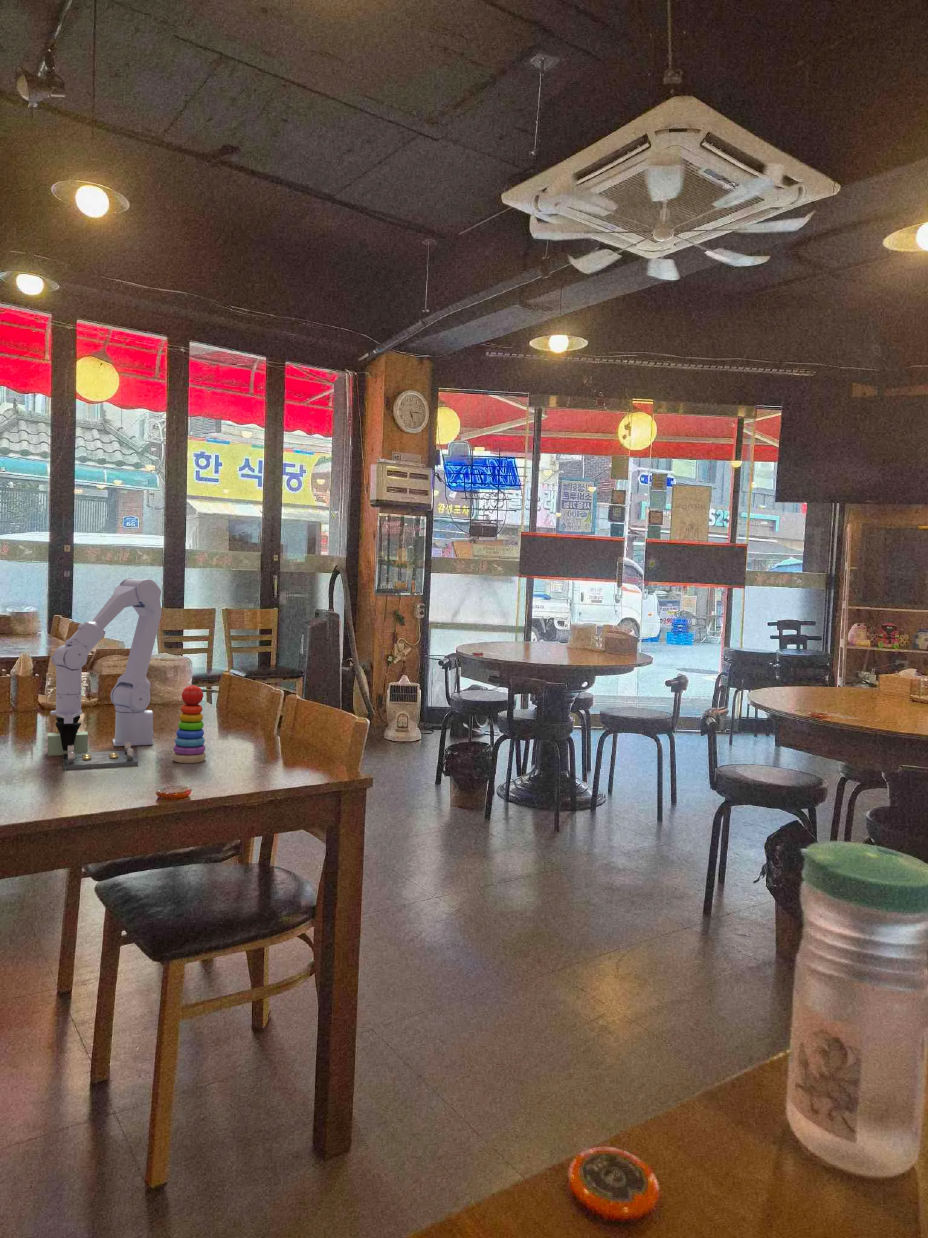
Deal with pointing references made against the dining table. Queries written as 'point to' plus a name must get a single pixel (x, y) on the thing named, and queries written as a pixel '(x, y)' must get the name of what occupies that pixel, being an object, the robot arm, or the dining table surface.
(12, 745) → the dining table surface
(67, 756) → the plate
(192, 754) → the stacking toy
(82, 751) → the block
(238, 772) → the dining table surface
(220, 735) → the dining table surface
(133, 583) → the robot arm
